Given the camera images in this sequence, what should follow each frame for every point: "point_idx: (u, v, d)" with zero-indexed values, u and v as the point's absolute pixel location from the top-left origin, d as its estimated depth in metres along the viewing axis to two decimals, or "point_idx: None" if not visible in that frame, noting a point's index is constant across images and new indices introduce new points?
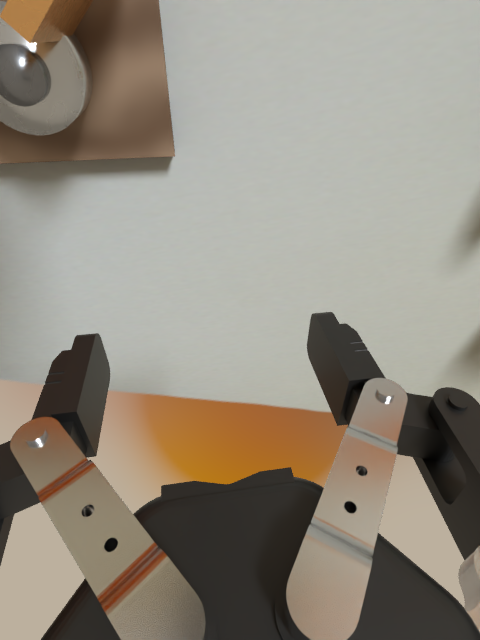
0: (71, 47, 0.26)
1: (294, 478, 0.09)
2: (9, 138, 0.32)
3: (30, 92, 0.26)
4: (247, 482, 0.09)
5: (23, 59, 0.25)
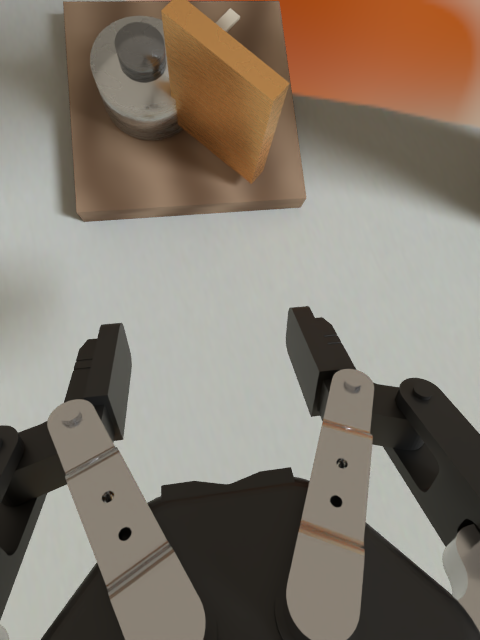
0: (167, 105, 0.29)
1: (294, 478, 0.09)
2: None
3: (127, 51, 0.27)
4: (247, 482, 0.09)
5: (153, 53, 0.27)
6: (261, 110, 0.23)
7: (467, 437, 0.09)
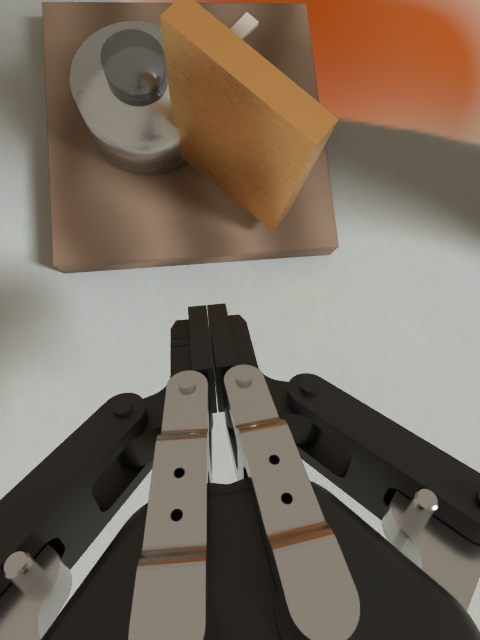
0: (168, 136, 0.22)
1: None
2: None
3: (116, 67, 0.21)
4: (247, 482, 0.09)
5: (151, 69, 0.21)
6: (296, 154, 0.17)
7: (361, 414, 0.10)
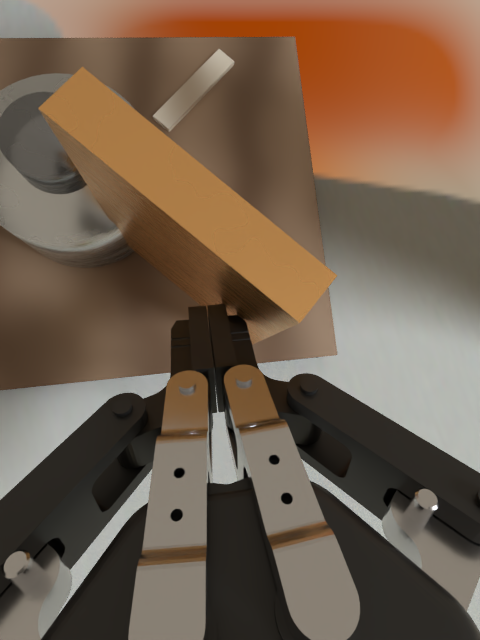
0: (101, 234, 0.16)
1: None
2: None
3: (20, 147, 0.15)
4: (247, 482, 0.09)
5: None
6: (270, 314, 0.11)
7: (360, 414, 0.10)
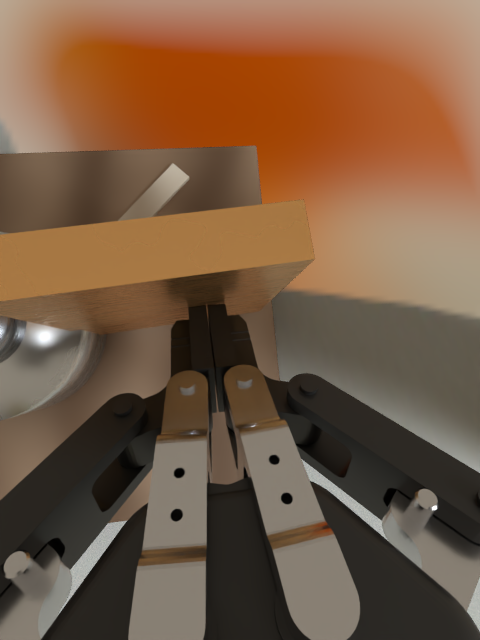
0: (78, 347, 0.16)
1: None
2: None
3: None
4: (247, 482, 0.09)
5: None
6: (280, 274, 0.11)
7: (361, 414, 0.10)
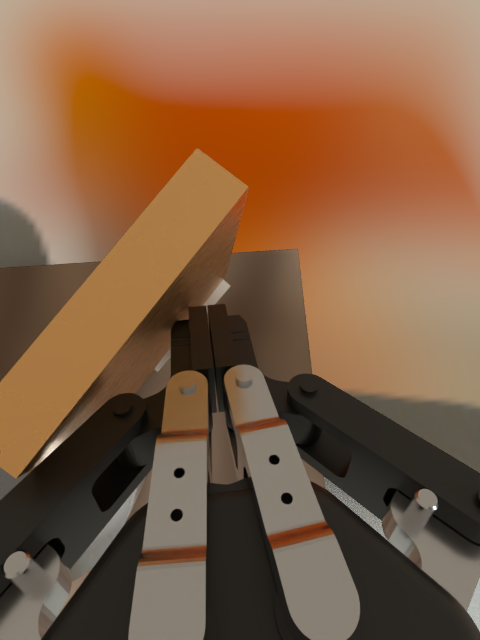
0: None
1: None
2: None
3: None
4: (247, 482, 0.09)
5: None
6: (229, 225, 0.10)
7: (361, 414, 0.10)
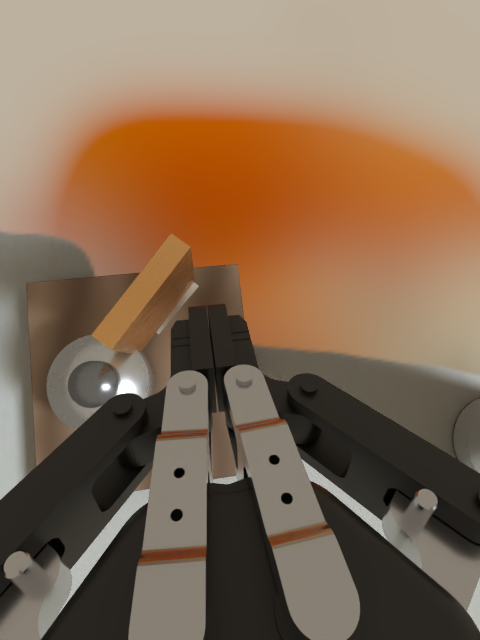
0: (141, 356, 0.31)
1: None
2: (52, 342, 0.34)
3: (101, 395, 0.28)
4: (247, 482, 0.09)
5: (100, 370, 0.28)
6: (186, 260, 0.26)
7: (360, 414, 0.10)
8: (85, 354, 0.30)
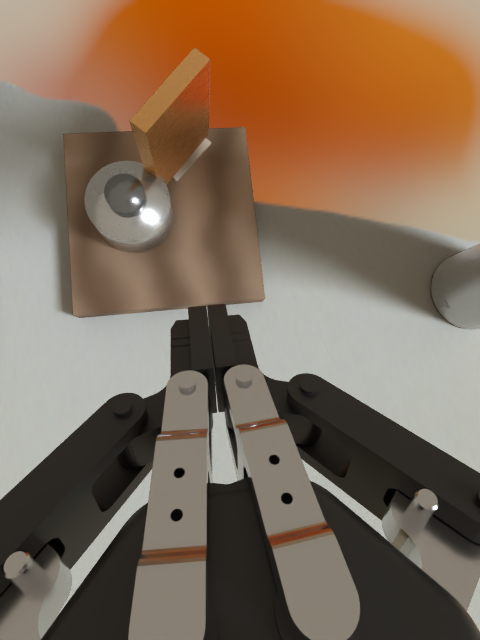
0: (164, 181, 0.36)
1: None
2: (85, 183, 0.40)
3: (131, 201, 0.34)
4: (247, 482, 0.09)
5: (131, 181, 0.34)
6: (205, 77, 0.32)
7: (360, 414, 0.10)
8: None
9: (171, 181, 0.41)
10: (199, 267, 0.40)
